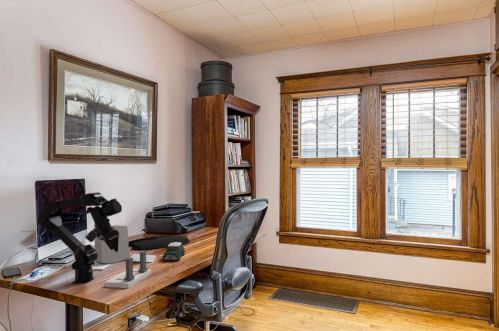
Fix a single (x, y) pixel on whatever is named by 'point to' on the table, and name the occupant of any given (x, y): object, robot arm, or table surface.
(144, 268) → the on breaker
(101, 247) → the electrical switch box
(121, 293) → the table surface
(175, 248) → the miniature car
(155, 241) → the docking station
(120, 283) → the breaker panel
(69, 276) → the table surface
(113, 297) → the table surface
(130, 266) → the lever
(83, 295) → the table surface
